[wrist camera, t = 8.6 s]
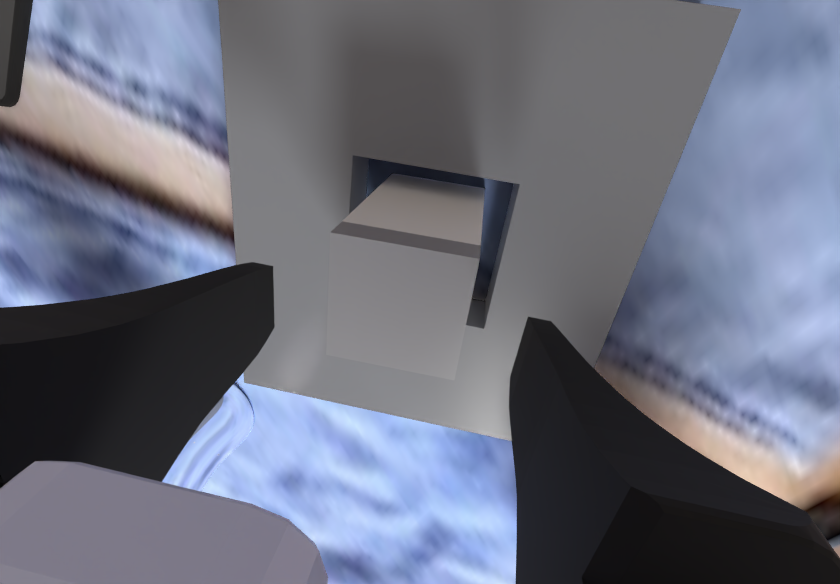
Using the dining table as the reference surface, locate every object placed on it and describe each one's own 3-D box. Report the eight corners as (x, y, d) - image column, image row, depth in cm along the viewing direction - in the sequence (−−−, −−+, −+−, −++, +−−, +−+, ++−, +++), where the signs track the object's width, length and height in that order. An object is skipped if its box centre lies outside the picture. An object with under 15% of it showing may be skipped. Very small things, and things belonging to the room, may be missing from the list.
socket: (553, 415, 23) (559, 451, 21) (267, 354, 24) (244, 382, 22) (703, 19, 14) (740, 9, 12) (253, -44, 16) (213, -64, 13)
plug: (468, 273, 20) (454, 380, 13) (384, 258, 20) (326, 354, 13) (484, 188, 18) (479, 259, 11) (392, 173, 18) (330, 232, 11)
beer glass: (219, 462, 29) (-14, 789, 16) (136, 393, 27) (-207, 696, 14) (283, 419, 26) (66, 773, 13) (195, 340, 24) (-164, 655, 11)
